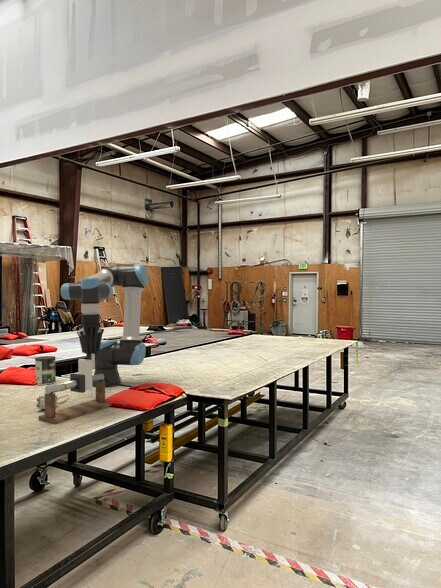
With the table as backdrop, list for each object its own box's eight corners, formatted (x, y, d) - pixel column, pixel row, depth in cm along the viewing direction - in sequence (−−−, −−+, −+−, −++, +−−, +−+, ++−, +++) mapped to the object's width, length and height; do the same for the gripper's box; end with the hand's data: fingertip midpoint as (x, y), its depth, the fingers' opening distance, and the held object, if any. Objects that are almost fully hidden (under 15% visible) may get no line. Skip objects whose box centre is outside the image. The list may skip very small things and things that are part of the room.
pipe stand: (95, 402, 179) (95, 379, 179) (111, 405, 174) (111, 381, 174) (38, 419, 155) (38, 392, 155) (55, 424, 150) (54, 396, 150)
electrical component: (59, 404, 189) (60, 393, 190) (72, 404, 189) (72, 393, 190) (35, 409, 165) (36, 396, 166) (49, 408, 165) (50, 396, 166)
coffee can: (58, 380, 224) (58, 355, 224) (50, 385, 214) (50, 358, 214) (40, 381, 225) (40, 356, 225) (31, 385, 214) (31, 359, 214)
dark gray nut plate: (73, 389, 167) (73, 373, 167) (85, 391, 164) (85, 374, 164) (70, 390, 166) (70, 374, 166) (81, 392, 162) (81, 375, 162)
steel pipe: (99, 380, 177) (99, 372, 177) (104, 381, 175) (104, 373, 175) (44, 394, 154) (44, 385, 154) (50, 395, 152) (50, 386, 152)
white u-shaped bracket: (82, 386, 171) (82, 358, 170) (92, 388, 167) (91, 359, 167) (74, 388, 167) (74, 360, 167) (84, 390, 164) (84, 361, 164)
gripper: (96, 312, 178) (96, 365, 178) (72, 314, 167) (72, 370, 167) (108, 313, 174) (109, 367, 174) (84, 314, 163) (85, 372, 163)
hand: (91, 368), depth 171 cm, fingers closed
